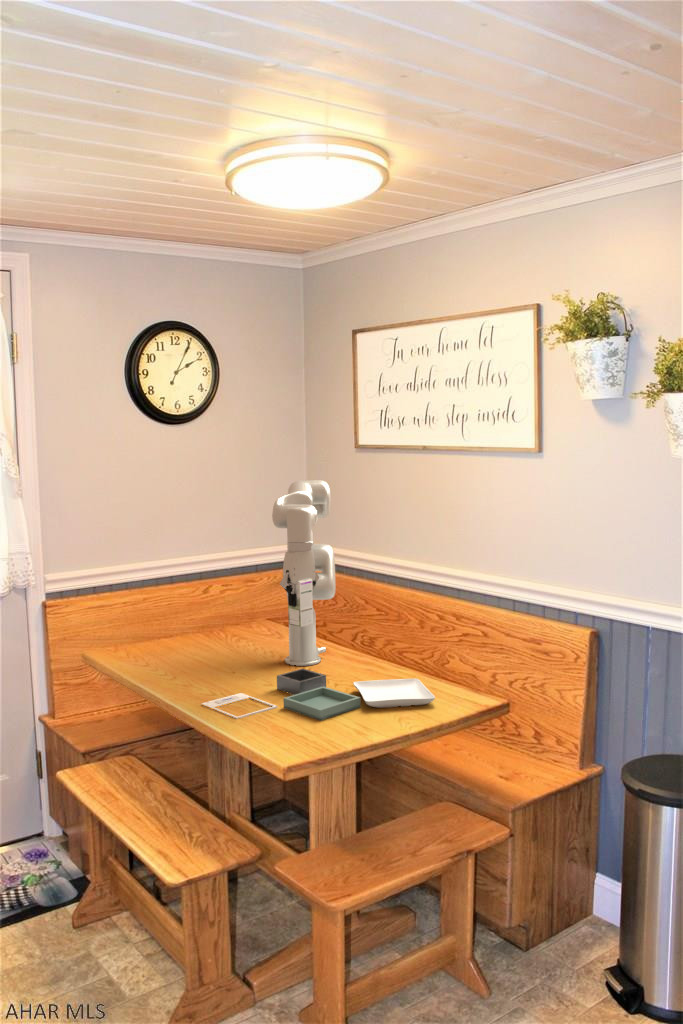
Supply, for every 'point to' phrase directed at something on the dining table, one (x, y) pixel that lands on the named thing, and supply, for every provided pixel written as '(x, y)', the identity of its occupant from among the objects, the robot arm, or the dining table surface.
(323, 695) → the tray
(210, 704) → the photo frame
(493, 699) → the dining table surface
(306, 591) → the syrup box
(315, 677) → the sleeve
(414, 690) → the salad plate
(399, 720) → the dining table surface
